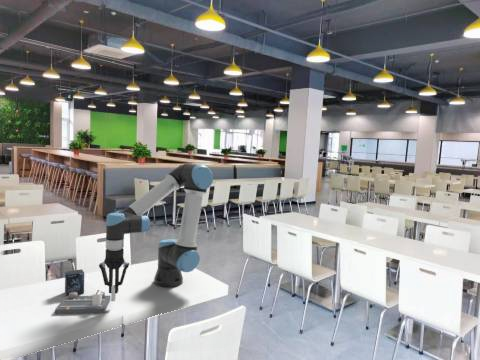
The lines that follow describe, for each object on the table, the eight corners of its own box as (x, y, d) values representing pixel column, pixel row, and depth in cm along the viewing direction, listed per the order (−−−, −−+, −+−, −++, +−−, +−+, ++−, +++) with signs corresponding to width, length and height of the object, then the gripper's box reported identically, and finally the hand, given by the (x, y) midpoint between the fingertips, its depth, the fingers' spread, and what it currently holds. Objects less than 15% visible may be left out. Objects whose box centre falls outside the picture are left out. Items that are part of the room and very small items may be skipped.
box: (66, 296, 176) (66, 274, 176) (64, 292, 181) (64, 271, 180) (84, 293, 181) (84, 272, 180) (82, 289, 186) (82, 268, 185)
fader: (102, 300, 168) (102, 289, 168) (99, 305, 163) (99, 294, 163) (95, 300, 168) (95, 289, 167) (92, 305, 163) (92, 294, 162)
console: (110, 299, 175) (110, 291, 175) (104, 313, 161) (104, 304, 161) (65, 300, 172) (65, 291, 172) (54, 314, 158) (54, 305, 158)
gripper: (131, 246, 169) (129, 296, 171) (101, 245, 167) (99, 296, 169) (128, 250, 162) (127, 303, 164) (97, 250, 160) (96, 303, 162)
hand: (113, 300), depth 166 cm, fingers closed
